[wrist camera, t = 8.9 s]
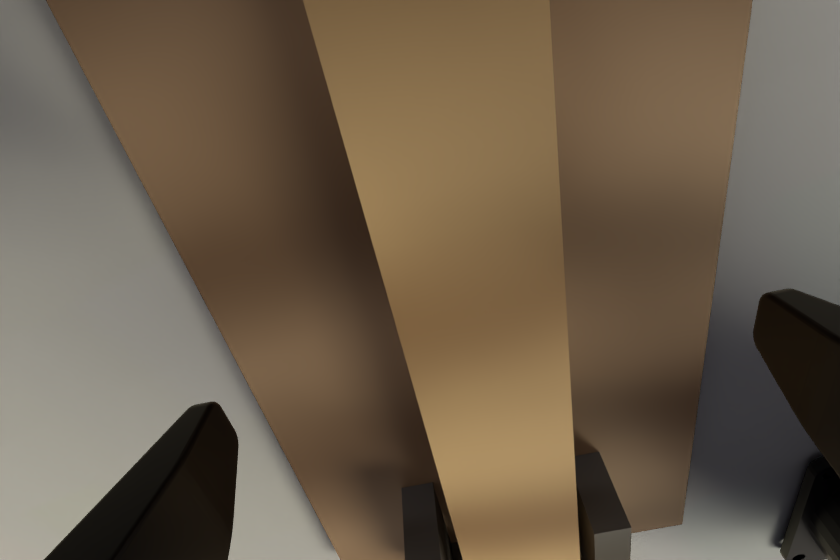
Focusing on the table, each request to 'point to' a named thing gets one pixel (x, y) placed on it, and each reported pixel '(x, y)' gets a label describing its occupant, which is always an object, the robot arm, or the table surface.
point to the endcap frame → (358, 267)
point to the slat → (468, 246)
